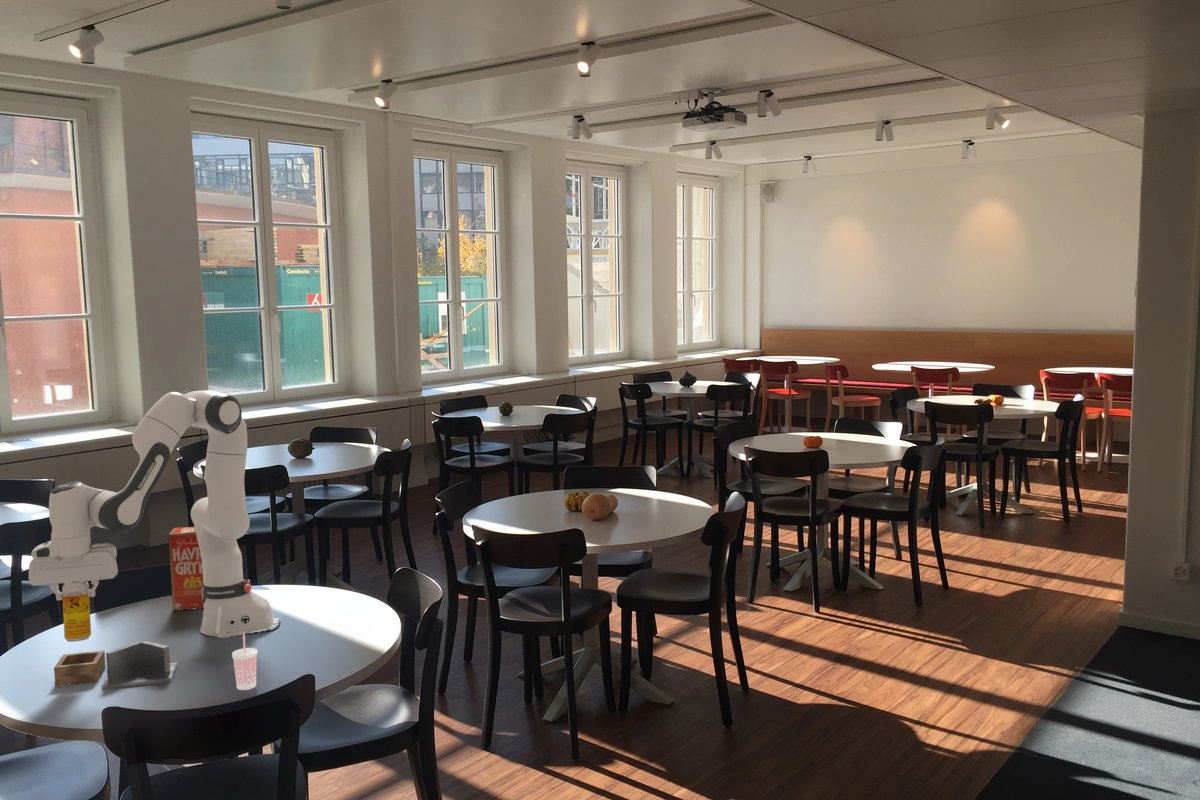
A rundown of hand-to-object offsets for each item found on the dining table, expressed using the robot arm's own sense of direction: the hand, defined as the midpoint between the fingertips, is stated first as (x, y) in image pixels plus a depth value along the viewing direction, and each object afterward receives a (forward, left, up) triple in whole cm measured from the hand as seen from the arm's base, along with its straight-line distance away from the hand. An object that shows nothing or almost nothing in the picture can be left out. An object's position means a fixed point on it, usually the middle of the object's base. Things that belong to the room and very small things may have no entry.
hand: (76, 598), depth 253 cm
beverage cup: (-42, +20, -21) cm, 51 cm away
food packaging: (-22, -56, -21) cm, 64 cm away
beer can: (0, +1, -11) cm, 11 cm away
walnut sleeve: (0, 0, -21) cm, 21 cm away
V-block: (-15, +5, -21) cm, 26 cm away
